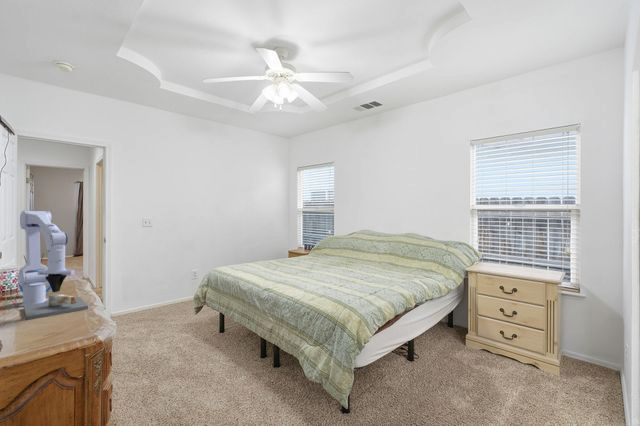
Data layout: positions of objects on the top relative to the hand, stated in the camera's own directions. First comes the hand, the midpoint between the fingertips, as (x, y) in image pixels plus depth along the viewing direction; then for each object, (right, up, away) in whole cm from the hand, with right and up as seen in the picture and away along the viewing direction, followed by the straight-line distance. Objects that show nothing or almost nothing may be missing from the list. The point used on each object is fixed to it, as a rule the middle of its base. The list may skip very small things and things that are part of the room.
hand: (56, 291), depth 130 cm
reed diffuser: (-46, -9, +40) cm, 62 cm away
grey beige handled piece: (-1, -8, +5) cm, 9 cm away
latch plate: (-5, -9, +6) cm, 12 cm away
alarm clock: (-34, -9, +27) cm, 44 cm away
